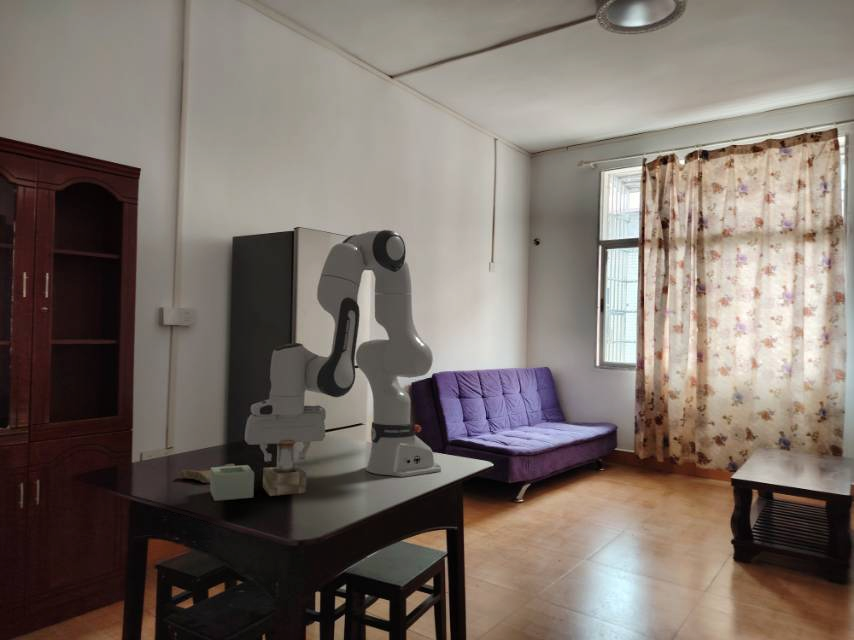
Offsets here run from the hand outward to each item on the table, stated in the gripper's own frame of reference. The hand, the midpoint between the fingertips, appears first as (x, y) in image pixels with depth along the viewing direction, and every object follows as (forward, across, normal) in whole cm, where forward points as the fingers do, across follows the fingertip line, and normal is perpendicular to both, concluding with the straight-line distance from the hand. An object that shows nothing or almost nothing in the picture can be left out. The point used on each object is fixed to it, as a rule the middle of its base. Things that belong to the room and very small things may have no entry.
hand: (285, 460), depth 158 cm
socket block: (+8, +13, 0) cm, 15 cm away
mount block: (+8, 0, 0) cm, 8 cm away
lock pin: (+8, 0, 0) cm, 8 cm away
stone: (+8, +16, -19) cm, 26 cm away
